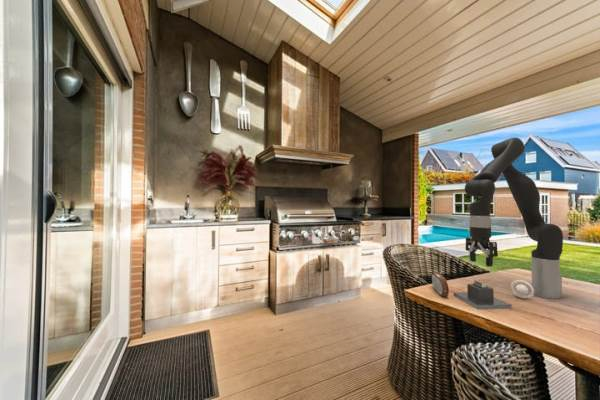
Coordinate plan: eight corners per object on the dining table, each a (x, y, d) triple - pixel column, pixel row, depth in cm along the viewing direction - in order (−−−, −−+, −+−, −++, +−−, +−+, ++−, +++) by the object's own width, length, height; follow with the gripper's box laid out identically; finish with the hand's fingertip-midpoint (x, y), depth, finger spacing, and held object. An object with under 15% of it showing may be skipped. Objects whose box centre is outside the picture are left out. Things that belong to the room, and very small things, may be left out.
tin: (449, 299, 107) (449, 280, 108) (441, 298, 108) (441, 279, 108) (437, 287, 122) (437, 270, 122) (430, 287, 123) (430, 270, 123)
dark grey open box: (479, 301, 102) (478, 288, 102) (467, 295, 108) (467, 283, 108) (493, 300, 102) (493, 288, 102) (481, 295, 108) (481, 283, 108)
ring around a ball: (535, 300, 107) (535, 281, 107) (531, 303, 103) (531, 284, 103) (511, 294, 113) (511, 277, 113) (507, 297, 110) (507, 279, 110)
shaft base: (482, 295, 112) (482, 276, 112) (510, 308, 98) (510, 286, 98) (453, 295, 111) (453, 276, 111) (477, 309, 97) (477, 287, 98)
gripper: (459, 224, 112) (460, 260, 112) (485, 227, 98) (486, 268, 97) (475, 224, 112) (475, 259, 112) (503, 227, 98) (503, 267, 98)
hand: (480, 263), depth 105 cm, fingers open, 8 cm apart
